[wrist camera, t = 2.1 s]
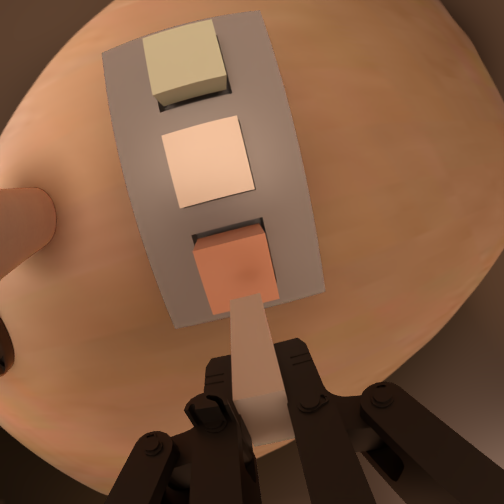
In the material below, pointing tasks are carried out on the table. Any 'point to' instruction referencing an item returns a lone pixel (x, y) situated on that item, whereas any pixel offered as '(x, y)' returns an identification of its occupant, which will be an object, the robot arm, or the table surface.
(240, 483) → the robot arm
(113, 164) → the table surface
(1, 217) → the coffee cup
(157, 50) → the sage key
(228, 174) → the ivory key
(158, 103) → the keypad board
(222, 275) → the terracotta key
